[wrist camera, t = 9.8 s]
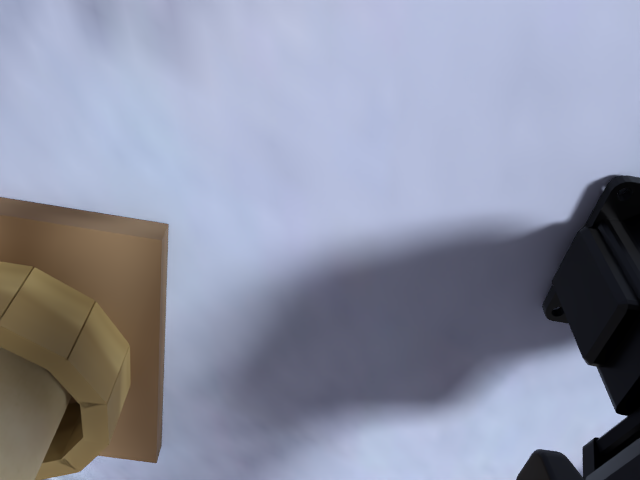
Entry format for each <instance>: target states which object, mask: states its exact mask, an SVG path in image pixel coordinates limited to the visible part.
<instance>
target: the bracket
mask: <svg viewBox="0 0 640 480" xmlns="http://www.w3.org/2000/svg"><path fill="white" fill-rule="evenodd" d="M167 254H168V224H164V223H158V222H152V221H145V220H139V219H133V218H127V217H120V216H114V215H108V214H102V213H96V212H89V211H83V210H77V209H71V208H64V207H58V206H52V205H46V204H40V203H33V202H27V201H21V200H15V199H8V198H2V197H0V347H2V348H4V349H6V350H8V351H10V352H12V353H14V354H16V355H18V356H20V357H22V358H25V359H27V360H29V361H31V362H33V363H35V364H37V365H39V366H41V367H43V368H45V369H47V370H49V372H50V373H51V374H52V375H53V376H54V377H55V378H56V379H57V380H58V381H59V382H60V384H61V385H62V386H63V387H64V388H65V389H66V390H67V391H68V392H69V393H70V394H71V396H72V397H71V399H70V401H69V404H68V406H67V408H66V410H65V413H64V415H63V417H62V419H61V422H60V424H59V426H58V428H57V431H56V433H55V435H54V437H53V440H52V442H51V444H50V446H49V449H48V451H47V453H46V455H45V458H44V460H43V462H42V464H41V467H40V469H39V471H38V473H37V476H36V478H35V480H41V479H47V478H52V477H57V476H62V475H67V474H72V473H77V472H79V471H81V470H82V469H84V468H85V467H86V466H87V465H88V464H89V463H90V462H91V461H92V460H93V459H94V458H95V457H97V456H106V457H113V458H121V459H129V460H136V461H144V462H151V463H157V459H158V456H159V452H160V449H161V441H162V410H163V378H164V347H165V316H166V285H167Z"/></svg>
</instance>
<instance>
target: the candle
mask: <svg viewBox="0 0 640 480" xmlns="http://www.w3.org/2000/svg"><path fill="white" fill-rule="evenodd" d="M71 397H72V396H71V394H70V393H69V392H68V391H67V390H66V389H65V388H64V387H63V386H62V385H61V384H60V382H59V381H58V380H57V379H56V378H55V377H54V376H53V375H52V374H51V373H50V372H49V370H47V369H45V368H43V367H41V366H39V365H37V364H35V363H33V362H31V361H29V360H27V359H25V358H22V357H20V356H18V355H16V354H14V353H12V352H10V351H8V350H6V349H4V348H2V347H0V480H35V478H36V476H37V473H38V471H39V469H40V467H41V464H42V462H43V460H44V458H45V455H46V453H47V451H48V449H49V446H50V444H51V442H52V440H53V437H54V435H55V433H56V431H57V428H58V426H59V424H60V422H61V419H62V417H63V415H64V413H65V410H66V408H67V406H68V404H69V401H70V399H71Z"/></svg>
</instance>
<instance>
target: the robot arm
mask: <svg viewBox="0 0 640 480" xmlns="http://www.w3.org/2000/svg"><path fill="white" fill-rule="evenodd" d="M624 188H628V190H627V191H626V192H625V193H622V194H617V193H618V192H619V191H620V190H621V189H624ZM552 284H553V286H552V288H551V290H550V291H549V293H548V295H547V297H546V299H545V301H544V303H543V306H542V307H543V310H544V313H545V316H546V317H547V318H548V319H549V320H552V321H557V322H563V323H569V325H570V328H571V330H572V332H573V335H574V337H575V340H576V342H577V345H578V347H579V350H580V352H581V354H582V357H583V359H584V360H585V362H586V363H587V364H588V365H591V366H596V367H597V369H598V371H599V374H600V376H601V378H602V381H603V383H604V385H605V388H606V390H607V392H608V395H609V397H610V399H611V402H612V404H613V406H614V409H615V411H616V413H618V414H620V415H626V416H627V417H626V418H625V419H623V420H622V421H621V422H620V423H618V424H617V425H616V426H614V427H613V428H612V429H611V430H609V431H608V432H607V433H605V434H604V435H603V436H602V437H600V438H596V437H595V438H594V439H592V440H591V441H590V442H589V443H587V444H586V445H585V446H583V477H582V476H581V475H580V473H579V472H578V471H577V469H576V468H575V467H574V466H573V464H572V463H571V462H570V461H569V459H568V458H567V457H566V456H565V455H563V454H562V453H560V452H556V451H549V450H542V449H538V450H536V451H534V452H533V453H532V455H531V456H530V458H529V459H528V461H527V462H526V464H525V465H524V467H523V468H522V470H521V471H520V473H519V474H518V476H517V479H516V480H640V178H638V177H632V176H619V177H616V178H614V179H613V180H611V181H610V182H609V183H608V184H607V186H606V188H605V189H604V191H603V193H602V195H601V197H600V199H599V201H598V202H597V204H596V206H595V208H594V210H593V212H592V214H591V215H590V217H589V219H588V221H587V223H586V225H585V226H584V227H583V228H582V229H581V230H580V231H579V232H578V233H577V235H576V237H575V239H574V241H573V243H572V245H571V246H570V248H569V250H568V252H567V254H566V256H565V258H564V259H563V261H562V263H561V265H560V267H559V269H558V271H557V273H556V274H555V276H554V278H553V280H552ZM557 307H560V308H558V309H554V308H557Z"/></svg>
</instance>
